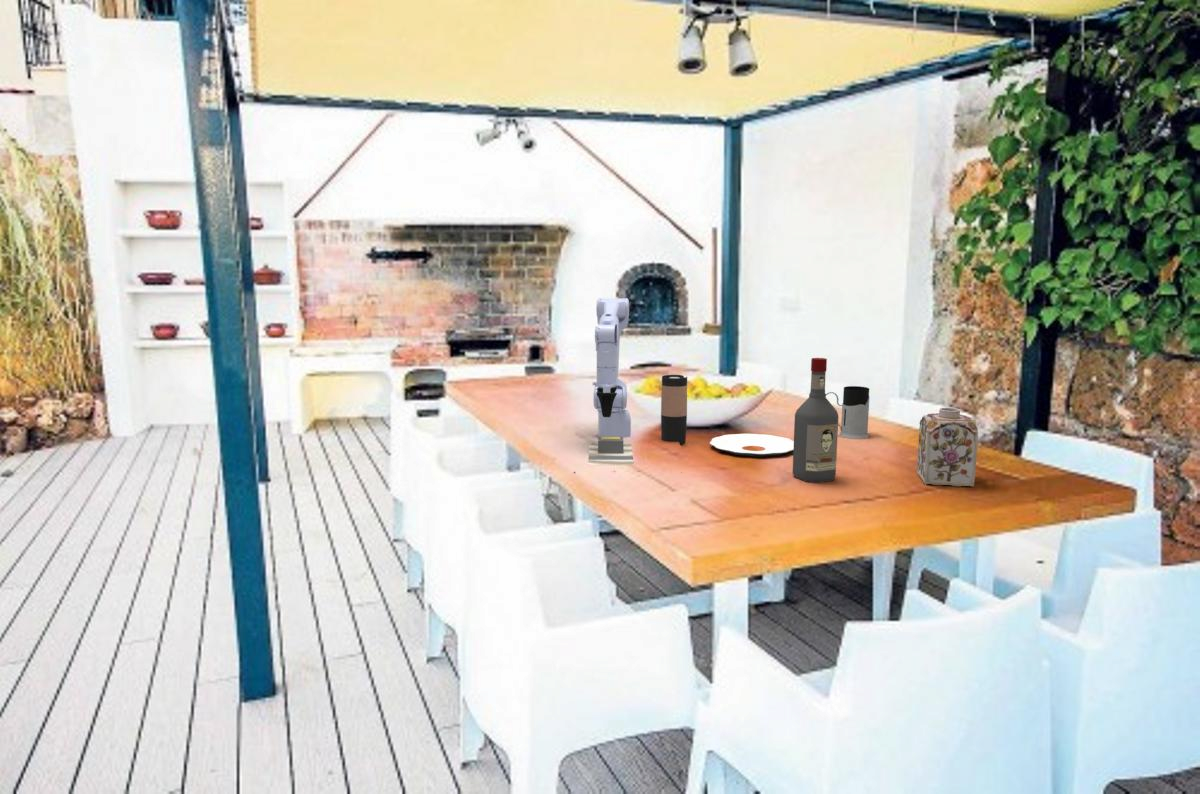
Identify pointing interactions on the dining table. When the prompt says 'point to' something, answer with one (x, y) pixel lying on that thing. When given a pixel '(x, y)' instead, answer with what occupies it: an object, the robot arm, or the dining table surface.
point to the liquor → (816, 431)
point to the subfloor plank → (594, 452)
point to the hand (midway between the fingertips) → (606, 414)
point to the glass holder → (854, 412)
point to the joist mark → (610, 458)
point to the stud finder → (610, 444)
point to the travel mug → (674, 408)
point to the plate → (753, 444)
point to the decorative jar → (947, 448)
